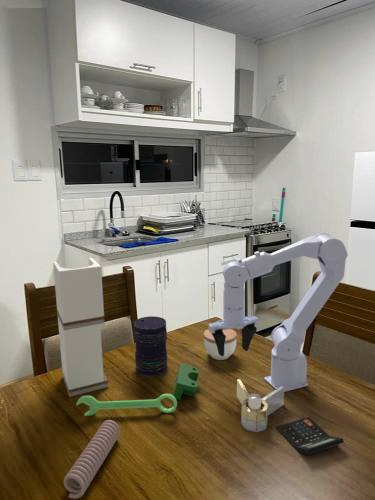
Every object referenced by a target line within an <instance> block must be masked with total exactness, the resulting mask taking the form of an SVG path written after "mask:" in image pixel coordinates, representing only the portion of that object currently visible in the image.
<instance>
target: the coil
mask: <svg viewBox="0 0 375 500" xmlns="http://www.w3.org/2000/svg"><path fill="white" fill-rule="evenodd" d="M120 434H121V428H120V426H119V424H118V423H117V422H116V421H115V420H111V419H107V420H104V421H103V422H102V424H101V425H100V427H99V428H98V429H97V431H96V432H95V434H94V435H93V437H92V438H91V440H89V442H88V444H87V445H86V447H85V448H84V450H82V452H81V453H80V454H79V455H80V456H79V457H78V458H77V459H76V461H75V462H74V463H73V465H72V467H71V468H69V469H70V470H69V471H68V472H67V474H66V475H65V476H64V478H63V485H64V487H65V489H66V491H68V492H69V494H68V498H69V499H74V500H75V499H80V498H81V497H83V495H85V493H86V491H87V489H88V487H90V484H91V482H92V481H93V479H94V478H95V477H96V475H97V473H98V471H99V469H100V468H101V467H102V464H103V463H104V461H105V460H106V459H107V456H108V455H109V453H110V451H111V450H112V448H113V446H114V445H115V443H116V441H117V440H118V439H119V437H120Z"/></svg>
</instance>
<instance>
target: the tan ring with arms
mask: <svg viewBox="0 0 375 500" xmlns="http://www.w3.org/2000/svg"><path fill="white" fill-rule="evenodd" d="M250 394H251V393H249V391H248V390H247V388H246V387H245V385H244V383H243V382H242V380H241V378H240V379H237V380H236V397H237V400H238V401H239V403H240V405H241V411H240V412H241V416H240V417H241V420H240V423H241V425H242V426H243V428H244V429H245V430H247V431H250V432H253V433H259V432H261V431H265V430H266V428H267V426H268V416H270V415H271V414H273V413H275V411H277V410H279V409H280V408H281V407H283V406H284V404H285V403H284V401H285V392H284V387H283V386H281V387H279V388H278V389H275V390H273V391H271V392H270V393H269V394H267V395H265V396H263V397H261V410H258V411H255V410H251V409H248V396H249V395H250Z"/></svg>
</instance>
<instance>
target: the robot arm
mask: <svg viewBox="0 0 375 500" xmlns="http://www.w3.org/2000/svg"><path fill="white" fill-rule="evenodd" d="M253 253H254V254H253V255H251V256H248V257H246V258H243V259H242V258H238V259H237V261H230V262H228V263H226V264H225V266H224V268H223V270H222V275H223V278H224V283H223V310H222V311H223V313H222V314H223V315H222V316H223V318H222V319H220V320H218V321H214V322H213V323H208V328H207V329H208V331H209V332H211V333H212V335H213V337H214V339H215V342H216V345H217V349H218V353H219V354H220V355H221V356H224V344H225V339H226V335H224V334H223V332H222V330H226V329H232V330H233V329H236V330H241V348H242V350H244V351H245V352H248V351H249V348H250V345H251V342H252V339H253V337H254V335H255V334H256V333H257V329H258V328H257V327H256V326H258V325H259V318H258V317H256V316H255V315H254V316H253V315H252V316H245V298H246V297H245V296H246V295H245V294H246V292H245V283H246V282H247V281H248V280H249V281H250V280H252V279H255V278H258V277H260V276H262V275H266V274H268V273H271V272H272V271H273V269H274V267H275V266H277V265H280V264H283V263H286V262H290V261H293V260H296V259H299V258H302V257H306V258H311V259H315V260H318V264H319V267H320V274H319V275H318V276H317V278H316V279H315V280H314V281H313V283H312V285H311V286H310V288H309V289H308V290H307V292H306V294H305V295H304V296H303V298H302V299H301V301H300V302H299V304H298V305H297V307H296V308H295V309H294V311H293V313H292V314H291V315H290V317H289V318H286V319H284V320H283V321H282V322H281V324H280V325H278V326H276V327H275V328H274V329H272V331H271V335H270V337H271V340H272V342H273V344H274V346H273V348H272V349H271V358H270V359H271V361H270V375H268V376H264V380H265V382H266V383H268V385H269V384H270V385H271V387H272V388H274V389H275V390H276V389H278V388H279V387H281V386H283V387H284V393H285V392H289V391H292V390H297V389H301V388H304V387H308V386H309V384H308V382H307V376H308V375H307V372H308V371H307V369H308V362H307V358H306V356H305V354H304V352H303V351H301V348H302V345H303V343H304V342H305V339H306V332H307V329H308V328H309V327H310V325H311V324H312V322H313V321H314V319H315V318H316V317H317V315H319V314H318V313H320V311H321V310H322V308H323V307H324V305H325V304H326V302H327V301H328V300H329V298H330V297H331V296H332V294H333V292H334V291H335V290H336V289H337V287H338V286H339V284H340V282H342V280H343V279H344V277H345V269H346V259H347V258H348V256H349V254H348V252H347V249H346V246H345V244H344V242H343V241H342V240H340V239H338V238H335V237H334V236H332V235H330V234H329V233H326V232H321V233H318V234H316V235H311V236H308V237H306V238H304V239H301V240H298V241H296V242H295V243H292V244H290V245H287V246H284V247H283V248H280V249H279V250H276V251H273V252H272V253H268V252H266V251H261V252H260V251H259V250H257V251H255V252H253Z"/></svg>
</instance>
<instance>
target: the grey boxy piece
mask: <svg viewBox="0 0 375 500" xmlns="http://www.w3.org/2000/svg"><path fill="white" fill-rule="evenodd" d="M52 265H53V277H54V289H55V298H56V299H55V300H56V311H57V313H56V315H57V322H58V324H57V325H58V334H59V335H58V336H59V348H60V358H61V359H60V360H61V369H62V371H61V372H62V378H63V382H64V385H65V388H66V391H67V394H68V397H69V398H70V397H74V396H78V395H83V394H87V393H90V392H93V391H97V390H101V389H106V388H109V379H108V378H107V376H106V374H105V372H104V365H103V364H104V362H103V347H102V346H103V345H102V329H105V328H106V326H105V309H104V294H103V293H104V291H103V274H102V266H101V265H100V264H99V263H98V262H97V261H96V260H95V259H94V258H92V257H89V258H88V266H84V267H78V268H76V267H75V268H66V267H61V266H60V265H59V263H58V262H57V261H53V262H52Z"/></svg>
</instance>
